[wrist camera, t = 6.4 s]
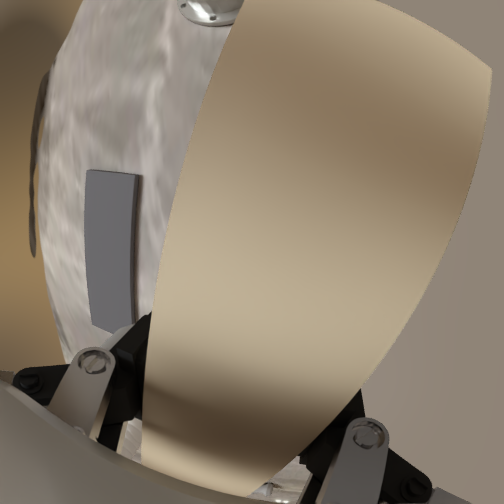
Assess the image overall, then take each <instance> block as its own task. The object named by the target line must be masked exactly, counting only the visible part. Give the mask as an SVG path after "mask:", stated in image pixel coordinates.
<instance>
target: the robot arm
mask: <svg viewBox="0 0 504 504" xmlns="http://www.w3.org/2000/svg"><path fill="white" fill-rule="evenodd" d="M243 2H244V0H177V5H178V8H179V11H180V12H181V13H182V15H183V16H184V17H185V18H186V19H188V20H189V21H191V22H193V23H196V24H199V25H205V26H221V25H228V24H232V23H234V21H235V19H236V17H237V15H238V13H239V11H240V9H241V7H242V4H243ZM151 315H152V311H151V312H150V313H149V315H144V316H143V317H142V318H141V319H140V320H139V321H138V322H137V323H136V324H135V325H134V326H133V327H132V328H131V329H130V330H129V331H128V332H127V333H126V334H125V335H124V336H123V337H122V338H121V339H120V340H119V341H118V342H117V343H116V344H115V345H114V346H113V347H112V348H111V349H110V350H109V351H108V350H106V349H104V348H101V347H88V348H85V349H82V350H81V351H79V352H78V353H77V354H76V355H75V357H74V358H73V360H72V362H71V364H65V365H56V366H43V367H29V368H24V369H22V370H20V371H19V372H18V373H17V374H16V375H15V373H14V372H13V371H0V504H283V503H275V502H268V501H262V500H256V499H251V498H245V497H241V496H236V495H231V494H227V493H223V492H219V491H215V490H211V489H208V488H204V487H201V486H198V485H194V484H191V483H188V482H185V481H182V480H179V479H176V478H174V477H171V476H168V475H166V474H163V473H160V472H158V471H155V470H153V469H151V468H148V467H146V466H144V465H141V464H139V463H137V462H135V461H133V460H130V459H128V458H126V457H124V456H122V455H121V450H122V446H123V441H124V437H125V433H126V429H127V424H128V421H131V420H133V419H134V418H137V419H139V420H141V421H142V410H143V392H144V379H145V367H146V357H147V347H148V339H149V330H150V323H151ZM388 445H389V433H388V431H387V429H386V428H385V426H384V425H383V424H382V423H380V422H379V421H377V420H375V419H372V418H366V417H365V412H364V405H363V399H362V393H361V388H360V389H359V391H358V392H357V393H356V394H355V396H354V397H353V398H352V399H351V400H350V401H349V403H348V404H347V405H346V406H345V407H344V408H343V410H342V411H341V412H340V413H339V414H338V415H337V416H336V417H335V418H334V419H333V421H332V422H331V423H330V424H329V425H328V426H327V427H326V428H325V429H324V430H323V431H322V432H321V433H320V434H319V435H318V436H317V437H316V438H315V439H314V440H313V441H312V442H311V443H310V444H309V445H308V446H307V447H306V448H305V449H304V450H303V451H302V452H301V453H299V454H298V455H297V456H300V462H299V464H304V465H306V468H307V469H308V470H309V471H310V472H311V473H310V475H309V477H308V480H307V482H306V484H305V486H304V488H303V491H302V493H301V495H300V497H299V499H298V501H297V503H296V504H471V503H470V502H468V501H466V500H464V499H461V498H459V497H457V496H455V495H453V494H451V493H448V492H446V491H444V490H443V489H441V488H439V487H436V488H435V489H433V488H432V483H431V481H430V479H429V478H428V477H427V476H426V475H425V474H424V473H422V472H421V471H419V470H418V469H416V468H415V467H414V466H412V465H411V464H409V463H408V462H407V461H406V460H404V459H403V458H402V457H400V456H399V455H398V454H396V453H395V452H394V451H392V450H391V449H390V448H388V447H389V446H388Z"/></svg>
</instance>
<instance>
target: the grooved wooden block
mask: <svg viewBox="0 0 504 504" xmlns="http://www.w3.org/2000/svg"><path fill="white" fill-rule="evenodd" d="M491 79H492V69H491V68H490V67H489V66H487V65H486V64H485V63H484V62H482V61H481V60H480V59H478V58H477V57H476V56H475V55H473V54H472V53H470V52H469V51H468V50H466V49H465V48H463V47H462V46H461V45H459V44H458V43H456V42H455V41H453V40H451V39H450V38H449V37H447V36H445V35H444V34H442V33H440V32H439V31H437V30H436V29H434V28H432V27H430V26H429V25H426V24H425V23H423V22H421V21H419V20H418V19H416V18H414V17H412V16H410V15H408V14H406V13H404V12H402V11H399V10H397V9H395V8H393V7H391V6H389V5H386V4H384V3H381V2H379V1H377V0H244V2H243V4H242V7H241V9H240V11H239V13H238V15H237V17H236V19H235V21H234V24H233V26H232V28H231V30H230V33H229V35H228V37H227V40H226V42H225V44H224V47H223V49H222V52H221V54H220V57H219V59H218V62H217V64H216V67H215V69H214V72H213V74H212V77H211V80H210V82H209V85H208V88H207V91H206V94H205V96H204V99H203V102H202V105H201V108H200V111H199V114H198V117H197V120H196V123H195V126H194V129H193V133H192V136H191V139H190V142H189V146H188V149H187V152H186V156H185V159H184V163H183V166H182V170H181V174H180V178H179V181H178V185H177V189H176V193H175V197H174V201H173V205H172V209H171V214H170V218H169V222H168V227H167V231H166V236H165V241H164V246H163V251H162V256H161V261H160V266H159V272H158V277H157V283H156V289H155V295H154V302H153V308H152V315H151V323H150V330H149V339H148V347H147V357H146V367H145V379H144V392H143V410H142V465H144V466H146V467H148V468H151V469H153V470H155V471H158V472H160V473H163V474H166V475H168V476H171V477H174V478H176V479H179V480H182V481H185V482H188V483H191V484H194V485H198V486H201V487H204V488H208V489H211V490H215V491H219V492H223V493H227V494H231V495H236V496H241V497H247V496H248V495H250V494H251V493H252V492H254V491H255V490H256V489H258V488H259V487H260V486H262V485H263V484H264V483H265V482H267V481H268V480H269V479H270V478H272V477H273V476H274V475H275V474H277V473H278V472H279V471H280V470H281V469H283V468H284V467H285V466H286V465H287V464H288V463H289V462H291V461H292V460H293V459H294V458H295V457H296V456H297V455H298V454H299V453H301V452H302V451H303V450H304V449H305V448H306V447H307V446H308V445H309V444H310V443H311V442H312V441H313V440H314V439H315V438H316V437H317V436H318V435H319V434H320V433H321V432H322V431H323V430H324V429H325V428H326V427H327V426H328V425H329V424H330V423H331V422H332V421H333V419H334V418H335V417H336V416H337V415H338V414H339V413H340V412H341V411H342V410H343V408H344V407H345V406H346V405H347V404H348V403H349V401H350V400H351V399H352V398H353V397H354V396H355V394H356V393H357V392H358V391H359V389H360V388H361V387H362V386H363V384H364V383H365V382H366V381H367V379H368V378H369V377H370V375H371V374H372V373H373V372H374V370H375V369H376V368H377V366H378V365H379V363H380V362H381V361H382V359H383V358H384V356H385V355H386V354H387V352H388V351H389V349H390V348H391V346H392V345H393V344H394V342H395V341H396V339H397V338H398V336H399V334H400V333H401V331H402V330H403V328H404V327H405V325H406V323H407V322H408V320H409V319H410V317H411V315H412V313H413V312H414V310H415V308H416V307H417V305H418V303H419V302H420V300H421V298H422V296H423V294H424V293H425V291H426V289H427V287H428V285H429V283H430V281H431V279H432V277H433V275H434V274H435V271H436V270H437V267H438V265H439V263H440V261H441V259H442V257H443V255H444V252H445V250H446V248H447V246H448V244H449V241H450V239H451V237H452V234H453V232H454V229H455V227H456V224H457V222H458V219H459V217H460V214H461V211H462V209H463V206H464V203H465V200H466V197H467V194H468V191H469V188H470V184H471V182H472V178H473V175H474V171H475V168H476V164H477V160H478V156H479V152H480V148H481V144H482V139H483V134H484V129H485V124H486V119H487V112H488V106H489V98H490V89H491Z"/></svg>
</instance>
